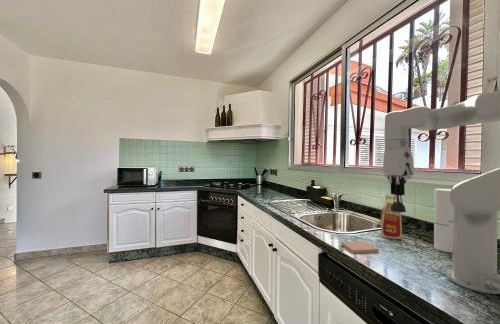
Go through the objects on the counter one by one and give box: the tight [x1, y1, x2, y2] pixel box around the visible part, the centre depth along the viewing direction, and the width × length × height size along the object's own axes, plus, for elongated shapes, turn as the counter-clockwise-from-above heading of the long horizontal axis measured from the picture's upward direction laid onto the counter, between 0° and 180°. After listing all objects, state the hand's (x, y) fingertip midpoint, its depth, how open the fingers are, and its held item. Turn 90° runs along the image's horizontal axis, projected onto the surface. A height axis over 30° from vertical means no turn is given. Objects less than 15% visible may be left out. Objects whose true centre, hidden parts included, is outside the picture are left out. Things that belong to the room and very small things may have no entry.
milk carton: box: [380, 194, 403, 240], centre depth 110 cm, size 9×9×20 cm
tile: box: [340, 240, 379, 254], centre depth 94 cm, size 9×2×11 cm
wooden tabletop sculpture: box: [391, 176, 407, 213], centre depth 82 cm, size 6×5×20 cm
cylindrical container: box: [433, 188, 453, 254], centre depth 93 cm, size 7×7×25 cm
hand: (397, 194), depth 82 cm, fingers closed on wooden tabletop sculpture, 1 cm apart
